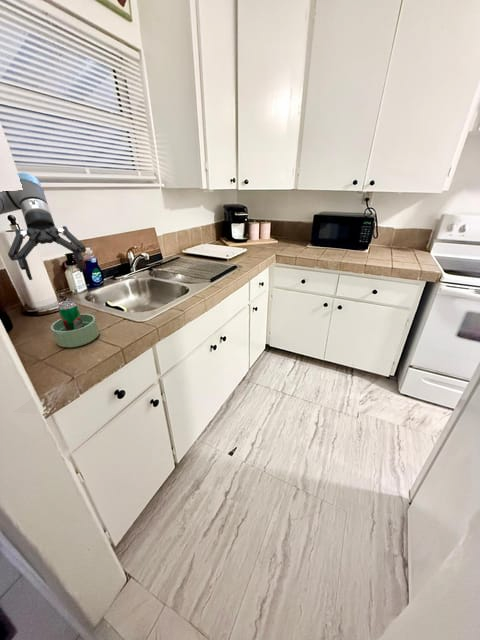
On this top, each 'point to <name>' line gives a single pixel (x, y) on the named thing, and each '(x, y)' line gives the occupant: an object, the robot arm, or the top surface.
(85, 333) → the bowl
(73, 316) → the soda can
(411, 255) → the top surface
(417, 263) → the top surface
